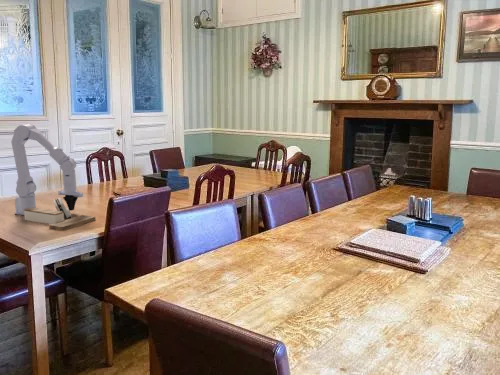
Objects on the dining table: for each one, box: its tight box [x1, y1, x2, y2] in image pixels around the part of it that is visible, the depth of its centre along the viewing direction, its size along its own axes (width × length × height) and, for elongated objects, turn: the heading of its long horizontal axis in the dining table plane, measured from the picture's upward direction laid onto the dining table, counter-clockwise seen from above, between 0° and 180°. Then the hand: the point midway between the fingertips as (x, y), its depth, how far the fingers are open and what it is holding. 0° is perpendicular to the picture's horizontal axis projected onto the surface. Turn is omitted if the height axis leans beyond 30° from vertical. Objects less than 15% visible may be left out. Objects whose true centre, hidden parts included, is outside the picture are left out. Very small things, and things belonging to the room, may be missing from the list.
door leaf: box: [48, 214, 96, 231], centre depth 214 cm, size 8×20×2 cm, turn 155°
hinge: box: [52, 197, 73, 219], centre depth 228 cm, size 17×5×10 cm, turn 26°
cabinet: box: [23, 207, 65, 225], centre depth 218 cm, size 20×5×5 cm, turn 65°
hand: (71, 210), depth 233 cm, fingers closed
